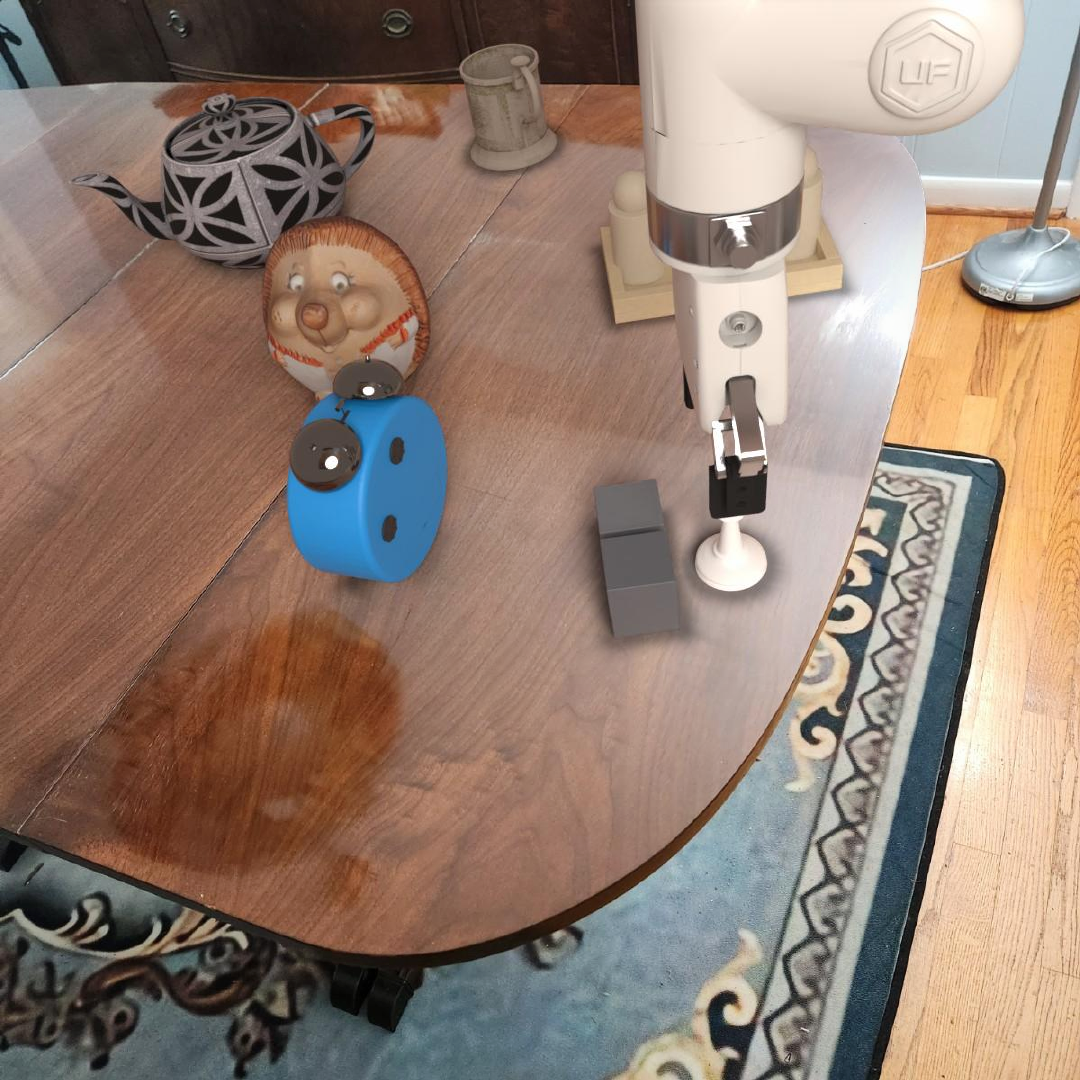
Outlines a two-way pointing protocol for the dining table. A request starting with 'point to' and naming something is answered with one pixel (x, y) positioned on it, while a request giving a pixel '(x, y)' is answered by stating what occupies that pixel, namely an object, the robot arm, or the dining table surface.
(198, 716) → the dining table surface
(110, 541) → the dining table surface
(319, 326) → the figurine
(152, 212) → the teapot
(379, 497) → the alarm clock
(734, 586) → the chess piece
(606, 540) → the slate blocks
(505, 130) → the mug
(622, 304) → the pawn tray
